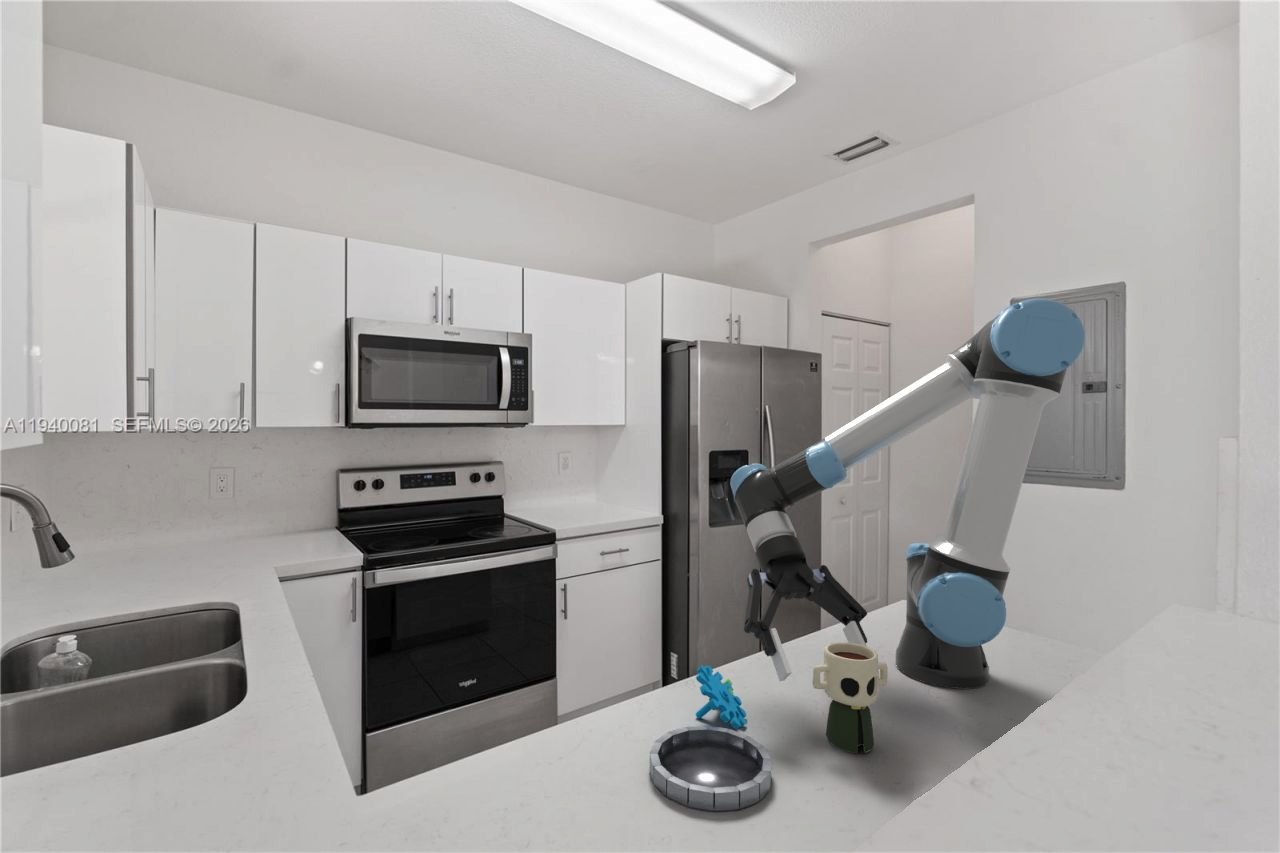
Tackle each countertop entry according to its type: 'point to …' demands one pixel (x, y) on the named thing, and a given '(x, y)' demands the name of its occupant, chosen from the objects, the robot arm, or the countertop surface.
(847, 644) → the character mug
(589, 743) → the countertop surface
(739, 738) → the grey round tray
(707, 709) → the gear
